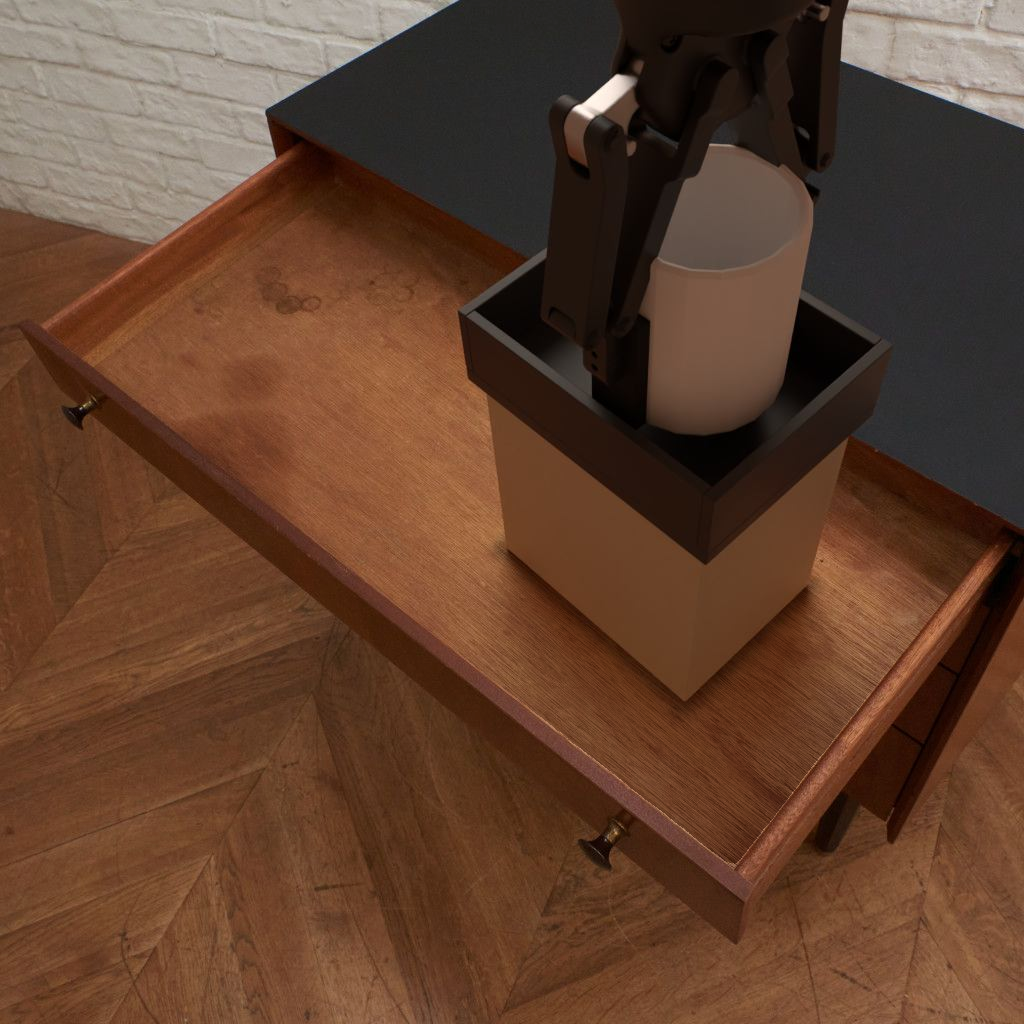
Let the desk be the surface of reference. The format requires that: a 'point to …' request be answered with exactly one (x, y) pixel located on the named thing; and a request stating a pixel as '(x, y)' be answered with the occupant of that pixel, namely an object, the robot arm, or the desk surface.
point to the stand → (654, 558)
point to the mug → (725, 293)
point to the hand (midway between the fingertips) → (684, 358)
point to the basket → (662, 454)
